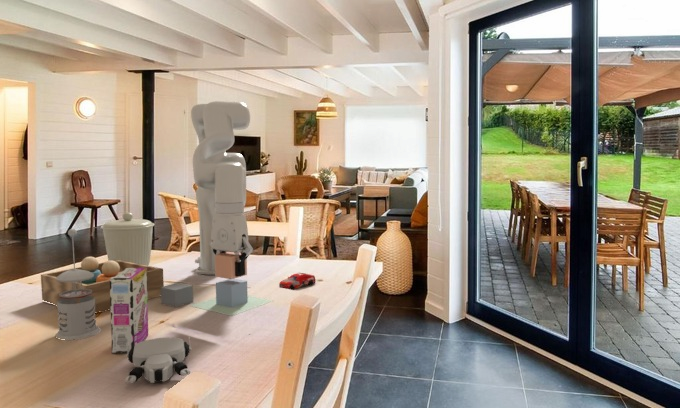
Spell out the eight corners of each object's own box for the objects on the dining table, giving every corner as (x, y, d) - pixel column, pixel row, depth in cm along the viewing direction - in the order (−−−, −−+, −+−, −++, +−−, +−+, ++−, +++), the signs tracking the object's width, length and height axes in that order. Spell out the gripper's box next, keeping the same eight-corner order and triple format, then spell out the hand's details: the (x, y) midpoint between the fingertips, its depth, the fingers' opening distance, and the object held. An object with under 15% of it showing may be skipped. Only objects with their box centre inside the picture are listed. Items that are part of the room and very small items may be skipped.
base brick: (216, 304, 141) (215, 282, 141) (232, 298, 146) (231, 278, 146) (231, 307, 138) (231, 285, 138) (247, 302, 143) (247, 281, 143)
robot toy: (193, 387, 96) (190, 352, 110) (193, 365, 95) (190, 332, 110) (122, 397, 92) (128, 359, 106) (121, 373, 92) (127, 338, 106)
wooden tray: (42, 302, 148) (40, 274, 147) (118, 284, 168) (117, 259, 167) (87, 315, 135) (86, 286, 135) (164, 294, 155) (163, 268, 154)
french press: (52, 342, 116) (45, 233, 114) (57, 327, 127) (51, 226, 124) (100, 336, 120) (94, 230, 118) (101, 321, 131) (96, 224, 128)
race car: (286, 292, 159) (285, 279, 158) (275, 289, 163) (275, 276, 162) (318, 284, 168) (318, 272, 167) (307, 281, 172) (307, 269, 171)
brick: (215, 276, 141) (214, 254, 140) (231, 272, 146) (230, 251, 145) (231, 279, 137) (230, 257, 137) (246, 274, 142) (246, 253, 142)
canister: (150, 262, 201) (148, 208, 199) (161, 271, 186) (158, 213, 184) (100, 267, 192) (97, 211, 190) (106, 277, 176) (103, 216, 174)
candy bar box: (135, 353, 110) (132, 278, 108) (111, 354, 110) (107, 278, 108) (150, 335, 121) (147, 266, 119) (128, 335, 121) (125, 267, 119)
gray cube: (161, 308, 142) (160, 287, 141) (179, 303, 147) (178, 282, 146) (175, 312, 139) (175, 290, 138) (193, 306, 144) (192, 285, 143)
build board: (189, 310, 140) (189, 305, 140) (232, 296, 153) (232, 292, 153) (232, 320, 131) (231, 315, 131) (273, 304, 145) (273, 300, 145)
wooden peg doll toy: (155, 293, 158) (153, 252, 157) (113, 309, 142) (111, 264, 140) (108, 288, 164) (106, 249, 163) (63, 302, 148) (60, 259, 146)
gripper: (197, 208, 141) (199, 272, 143) (243, 212, 132) (244, 281, 134) (217, 205, 148) (219, 267, 149) (263, 209, 138) (264, 275, 140)
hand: (231, 273), depth 141 cm, fingers closed on brick, 6 cm apart
